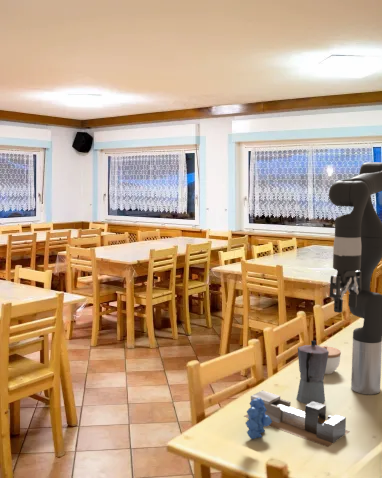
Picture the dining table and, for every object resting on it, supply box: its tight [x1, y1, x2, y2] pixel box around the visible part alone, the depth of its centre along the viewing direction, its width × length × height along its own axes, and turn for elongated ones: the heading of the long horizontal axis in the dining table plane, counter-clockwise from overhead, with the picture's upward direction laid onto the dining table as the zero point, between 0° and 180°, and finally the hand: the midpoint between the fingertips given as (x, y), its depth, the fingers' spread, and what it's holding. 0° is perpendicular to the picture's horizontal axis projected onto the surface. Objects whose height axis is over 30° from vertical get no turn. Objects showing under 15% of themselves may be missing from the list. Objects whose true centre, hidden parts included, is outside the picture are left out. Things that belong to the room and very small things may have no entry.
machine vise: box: [243, 389, 350, 448], centre depth 153 cm, size 12×27×7 cm, turn 47°
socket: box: [316, 413, 347, 444], centre depth 145 cm, size 7×5×5 cm
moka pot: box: [296, 339, 329, 405], centre depth 169 cm, size 10×15×20 cm, turn 161°
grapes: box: [245, 398, 272, 440], centre depth 145 cm, size 12×7×12 cm, turn 156°
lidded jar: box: [319, 345, 341, 375], centre depth 200 cm, size 11×11×9 cm
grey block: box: [276, 401, 327, 434], centre depth 151 cm, size 4×18×7 cm, turn 47°
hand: (345, 309), depth 154 cm, fingers open, 8 cm apart
